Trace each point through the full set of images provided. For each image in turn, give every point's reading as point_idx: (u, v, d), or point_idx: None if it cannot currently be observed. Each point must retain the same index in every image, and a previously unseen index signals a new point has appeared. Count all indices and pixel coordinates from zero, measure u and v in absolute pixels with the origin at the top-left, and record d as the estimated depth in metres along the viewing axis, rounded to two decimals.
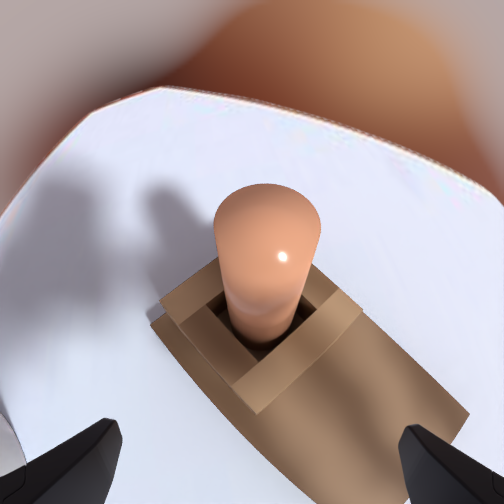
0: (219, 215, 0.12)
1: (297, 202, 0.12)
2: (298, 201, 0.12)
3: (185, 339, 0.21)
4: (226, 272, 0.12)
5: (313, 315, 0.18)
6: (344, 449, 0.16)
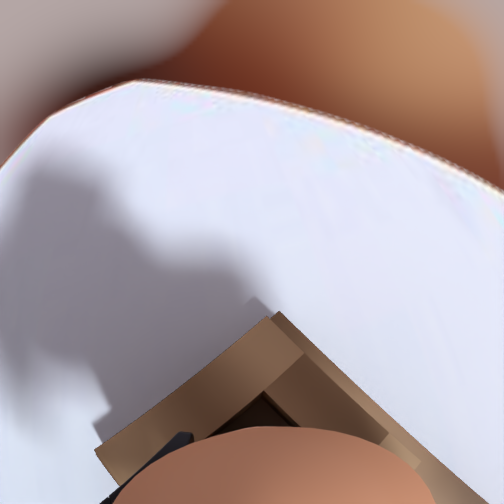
0: None
1: (386, 497, 0.02)
2: (389, 491, 0.02)
3: None
4: None
5: None
6: None
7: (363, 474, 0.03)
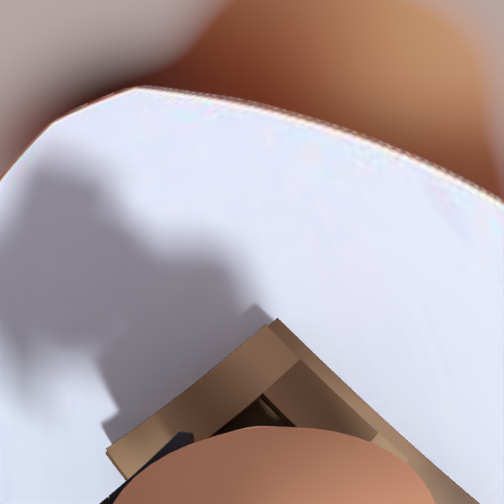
0: None
1: (385, 498, 0.02)
2: (389, 491, 0.02)
3: None
4: None
5: None
6: None
7: (363, 474, 0.03)
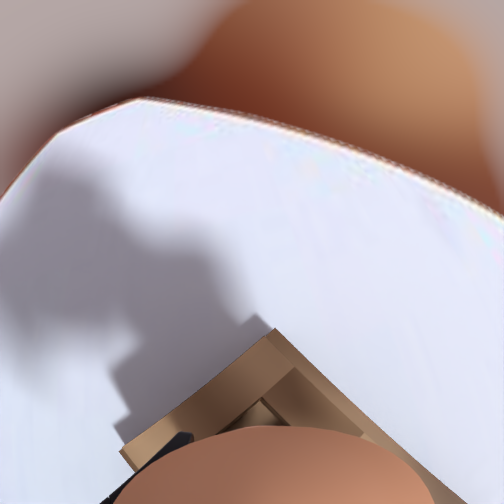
0: None
1: (384, 497, 0.02)
2: (388, 490, 0.02)
3: None
4: None
5: None
6: None
7: (362, 473, 0.03)
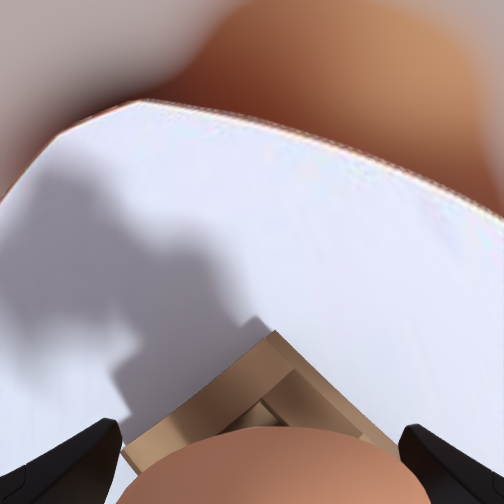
0: None
1: (381, 495, 0.02)
2: (385, 490, 0.02)
3: None
4: None
5: None
6: None
7: (359, 473, 0.03)
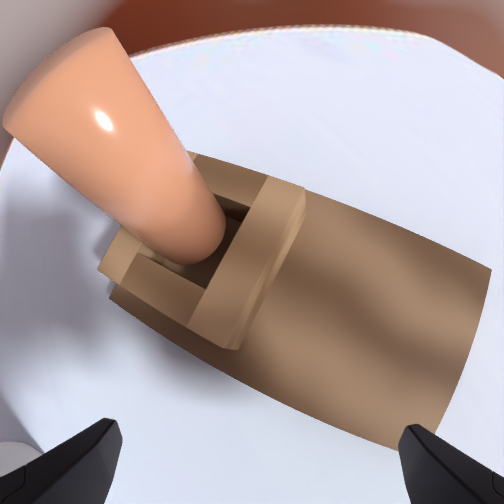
0: (10, 102, 0.06)
1: (89, 36, 0.06)
2: (91, 35, 0.06)
3: None
4: (40, 159, 0.07)
5: (248, 215, 0.16)
6: (352, 356, 0.15)
7: (82, 37, 0.07)
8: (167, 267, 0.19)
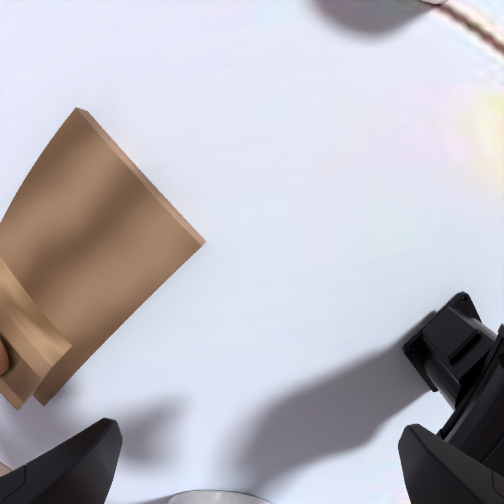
0: None
1: None
2: None
3: (41, 385, 0.20)
4: None
5: None
6: (88, 272, 0.18)
7: None
8: None
